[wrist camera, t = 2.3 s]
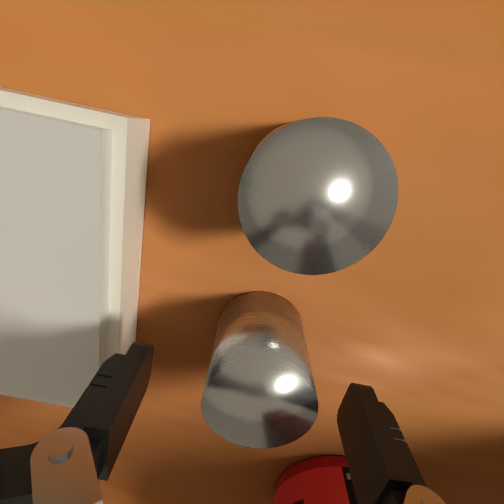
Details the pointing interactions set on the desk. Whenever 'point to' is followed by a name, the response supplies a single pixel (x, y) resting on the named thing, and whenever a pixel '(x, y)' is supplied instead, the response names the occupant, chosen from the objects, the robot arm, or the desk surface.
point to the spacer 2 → (260, 374)
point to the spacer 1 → (317, 195)
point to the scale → (67, 242)
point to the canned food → (316, 482)
